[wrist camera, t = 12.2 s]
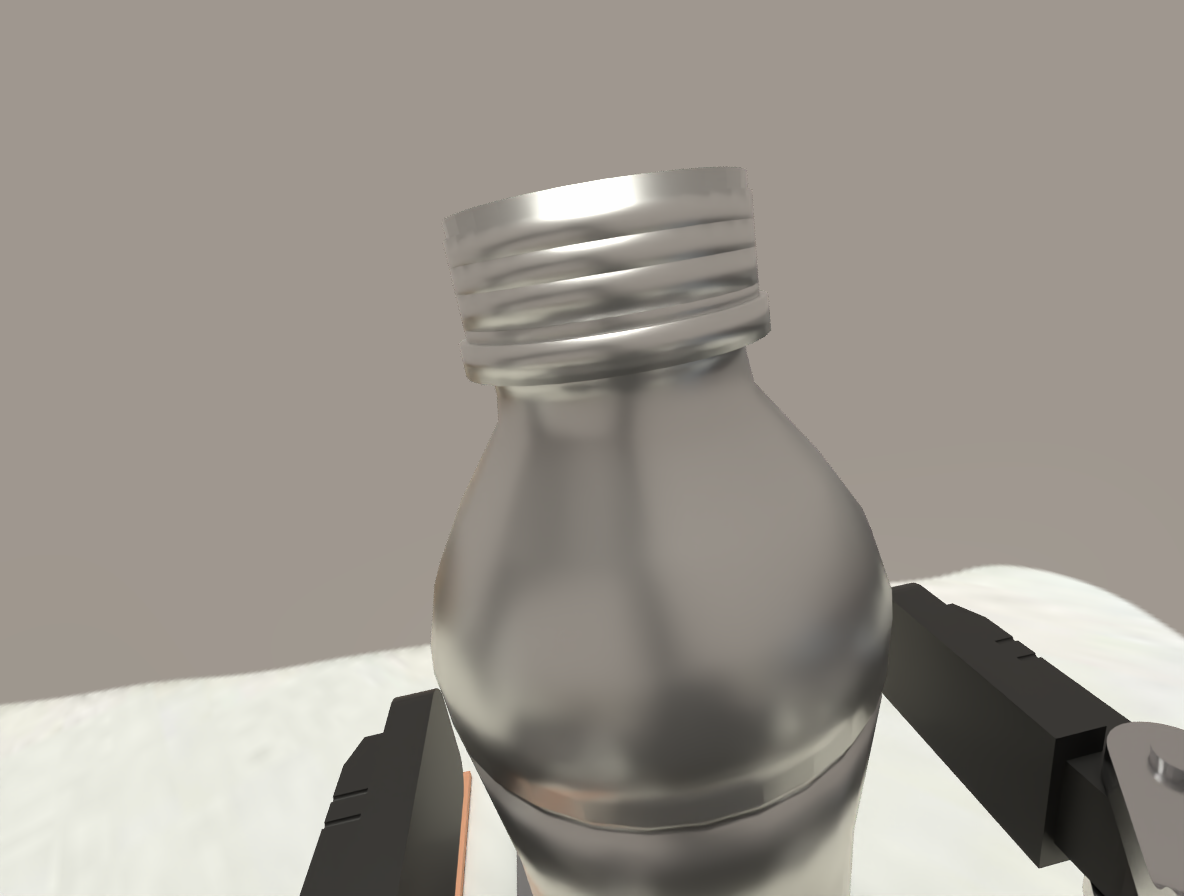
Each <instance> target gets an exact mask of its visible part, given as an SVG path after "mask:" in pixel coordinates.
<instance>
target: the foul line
mask: <svg viewBox="0 0 1184 896" xmlns="http://www.w3.org/2000/svg"><path fill="white" fill-rule="evenodd" d="M463 779H464V797H463V809H462V821H461V832H460V844H459V855H458V867H457V878H456V890H455V896H462V894H463V881H464V868H465V855H466V841H467V828H468V815H469V802H470V789H471V773H470V771H467V772H463Z"/></svg>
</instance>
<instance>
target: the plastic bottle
mask: <svg viewBox="0 0 1184 896" xmlns="http://www.w3.org/2000/svg"><path fill="white" fill-rule="evenodd" d="M442 227H443V230H444V234H445V237H446V239H445V240H444V241H443V246H444V250H445V254H446V258H447V262H448V266H449V270H450V274H451V278H452V282H453V286H454V290H455V295H456V298H457V303H458V307H459V311H460V316H461V319H462V324H463V328H464V332H465V336H466V338H465V339H463V340H461V341H460V343H459V348H460V352H461V356H462V360H463V364H464V369H465V372H466V377H467V378H468V379H469V380H470V381H471V382H474V383H478V384H482V385H492V386H495V389H496V393H497V408H498V423H497V425H496V427H495V429H494V432H493V434H492V436H491V438H490V440H489V442H488V444H487V447H486V449H485V451H484V453H483V455H482V457H481V459H480V461H479V464H478V466H477V468H476V470H475V472H474V474H473V476H472V478H471V481H470V483H469V485H468V487H467V489H466V491H465V493H464V496H463V498H462V500H461V502H460V506H459V508H458V511H457V515H456V517H455V520H454V523H453V526H452V529H451V532H450V535H449V538H448V541H447V543H446V547H445V549H444V552H443V555H442V558H441V561H440V564H439V568H438V572H437V577H436V580H435V584H434V601H433V616H432V617H433V618H432V634H431V652H432V660H433V668H434V674H435V677H436V679H437V682H438V684H439V687H440V689H441V692H442V694H443V697H444V699H445V702H446V705H447V708H448V711H449V713H450V716H451V719H452V722H453V725H454V727H455V729H456V731H457V732H458V734H459V736H460V738H461V740H462V742H463V744H464V746H465V748H466V750H467V752H468V754H469V756H470V758H471V760H472V762H473V764H474V766H475V768H476V770H477V772H478V774H479V776H480V778H481V780H482V782H483V784H484V786H485V788H486V790H487V792H488V794H489V796H490V798H491V800H492V802H493V804H494V806H495V808H496V810H497V812H498V814H499V816H500V818H501V820H502V822H503V824H504V826H505V828H506V830H507V833H508V835H509V837H510V839H511V841H512V843H513V845H514V847H515V849H516V851H517V853H518V855H519V857H520V859H521V861H522V864H523V867H524V870H525V873H526V876H527V879H528V882H529V885H530V888H531V891H532V894H533V896H850V886H851V869H852V853H853V837H854V827H855V823H856V818H857V813H858V808H859V803H860V799H861V794H862V789H863V784H864V780H865V775H866V770H867V765H868V760H869V756H870V751H871V746H872V741H873V737H874V732H875V727H876V722H877V717H878V713H879V708H880V703H881V698H882V689H883V686H884V683H885V680H886V677H887V667H888V656H889V644H890V636H891V628H892V620H893V614H892V589H891V586H890V583H889V580H888V577H887V574H886V571H885V568H884V565H883V562H882V559H881V557H880V553H879V551H878V548H877V545H876V542H875V539H874V536H873V533H872V530H871V527H870V525H869V523H868V520H867V518H866V515H865V513H864V511H863V509H862V507H861V506H860V504H859V503H858V502H857V501H856V499H855V498H854V496H853V495H852V494H851V492H850V491H849V490H848V488H847V487H846V486H845V484H844V483H843V482H842V481H841V480H840V478H839V477H838V475H837V474H836V473H835V471H834V470H833V469H832V467H831V466H830V465H829V463H828V462H827V461H826V459H825V458H824V457H823V455H822V454H821V453H820V451H819V450H818V449H817V448H816V447H815V446H814V445H813V444H812V443H811V442H810V441H809V439H808V438H807V437H806V436H805V435H804V434H803V433H802V432H801V431H800V430H799V429H798V428H797V427H796V426H795V424H794V423H793V422H792V421H791V420H790V419H789V418H788V417H787V416H786V415H785V414H784V413H783V412H782V411H781V410H780V409H779V407H778V406H777V405H776V404H775V403H774V402H773V401H772V400H771V399H770V398H769V397H768V396H767V395H766V394H765V393H764V391H762V389H761V388H760V387H759V386H758V385H757V384H756V383H755V382H754V378H753V374H752V371H751V367H750V363H749V359H748V356H747V352H746V345H749V344H752V343H754V342H756V341H758V340H759V339H761V338H763V337H765V336H766V335H767V334H768V333H769V332H770V331H771V324H770V310H769V296H768V292H766V291H762V290H759V283H758V269H757V256H756V242H755V226H754V213H753V197H752V189H748V185H747V170H746V169H743V168H738V167H704V168H691V169H679V170H670V171H661V172H653V173H645V174H637V175H631V176H624V177H617V178H610V179H604V180H598V181H592V182H586V183H581V184H575V185H569V186H563V187H559V188H554V189H549V190H544V191H539V192H534V193H530V194H525V195H520V196H516V197H512V198H507V199H503V200H499V201H495V202H491V203H488V204H484V205H480V206H477V207H473V208H470V209H467V210H464V211H461V212H459V213H456V214H453V215H451V216H450V217H447V218H445V219H444V220H443V221H442Z"/></svg>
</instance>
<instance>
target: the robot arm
mask: <svg viewBox="0 0 1184 896" xmlns="http://www.w3.org/2000/svg"><path fill="white" fill-rule="evenodd" d="M891 589H892V614H893V620H892V628H891V636H890V644H889V656H888V667H887V677H886V680H885V683H884V686H883V689H882V693H883V694H884V696H885V697H886V698H887V699H888V700H889V701H890V702H891V703H892V705H893V706H894V707H895V708H896V709H897V710H898V711H899V712H900V714H901V715H902V716H903V717H904V718H905V719H906V720H907V721H908V723H909V724H910V725H911V726H912V727H913V728H914V729H915V730H916V731H917V733H918V734H919V735H920V736H921V737H922V738H923V739H924V740H925V742H926V743H927V744H928V745H929V746H930V747H931V748H932V749H933V751H934V752H935V753H936V754H937V755H938V756H939V757H940V758H941V759H942V761H943V762H944V763H945V764H946V765H947V766H948V767H949V768H950V770H951V771H952V772H953V773H954V774H955V775H956V776H957V777H958V779H959V780H960V781H961V782H962V783H963V784H964V785H965V786H966V788H967V789H968V790H969V791H970V792H971V793H972V794H973V795H974V796H975V798H976V799H977V800H978V801H979V802H980V803H981V804H982V805H983V807H984V808H985V809H986V810H987V811H988V812H989V813H990V814H991V816H992V817H993V818H994V819H995V820H996V821H997V822H998V823H999V824H1000V826H1001V827H1002V828H1003V829H1004V830H1005V831H1006V832H1007V833H1008V835H1009V836H1010V837H1011V838H1012V839H1013V840H1014V841H1015V842H1016V844H1017V845H1018V846H1019V847H1020V848H1021V849H1022V850H1023V851H1024V853H1025V854H1026V855H1027V856H1028V857H1029V858H1030V859H1031V860H1032V861H1033V863H1034V864H1035V865H1036V866H1037V867H1038V868H1042V867H1046V866H1050V865H1053V864H1057V863H1060V862H1064V861H1068V860H1071V861H1072V862H1073V863H1074V864H1075V865H1076V866H1077V868H1078V869H1079V870H1080V871H1081V872H1082V873H1083V874H1084V879H1083V886H1082V888H1083V896H1184V730H1182V729H1179V728H1176V727H1172V726H1168V725H1164V724H1158V723H1152V722H1131V721H1129V720H1128V719H1126V718H1125V717H1124V716H1122V715H1121V714H1119V713H1118V712H1117V711H1115V710H1114V709H1113V708H1111V707H1110V706H1108V705H1107V704H1106V703H1104V702H1103V701H1101V700H1100V699H1099V698H1097V697H1096V696H1094V695H1093V694H1092V693H1090V692H1089V691H1087V690H1086V689H1085V688H1083V687H1082V686H1081V685H1079V684H1078V683H1076V682H1075V681H1074V680H1072V679H1071V678H1069V677H1068V676H1067V675H1065V674H1064V673H1062V672H1061V671H1060V670H1058V669H1057V668H1055V667H1054V666H1053V665H1051V664H1050V663H1049V662H1047V661H1046V660H1044V659H1043V658H1042V657H1040V658H1038V657H1037V656H1036V655H1035V652H1033V651H1032V650H1030V649H1029V648H1028V647H1026V646H1025V645H1023V644H1022V643H1021V642H1019V641H1014V640H1013V637H1012V636H1011V635H1010V634H1008V633H1007V632H1005V631H1004V630H1003V629H1001V628H1000V627H998V626H997V625H996V624H994V623H993V622H991V621H990V620H989V619H987V618H986V617H984V616H981V615H979V614H976V613H974V612H972V611H969V610H967V609H965V608H962V607H960V606H957V605H955V604H948V605H946V604H945V603H944V602H942V601H941V600H940V599H938V598H937V597H936V596H934V595H933V594H932V593H930V592H929V591H928V590H926V589H925V588H924V587H922V586H921V585H919V584H917V583H909V584H904V585H900V586H895V587H891ZM463 797H464V779H463V768H462V762H461V757H460V753H459V749H458V746H457V743H456V739H455V736H454V732H453V729H452V726H451V722H450V719H449V715H448V712H447V709H446V705H445V702H444V698H443V695H442V693H441V691H440V690H439V689H438V688H436V689H432V690H427V691H423V692H418V693H414V694H410V695H405V696H401V697H396V698H394V699H393V701H392V703H391V707H390V710H389V714H388V717H387V721H386V725H385V728H384V732H383V733H381V734H376V735H372V736H368V737H364V739H363V740H362V741H361V743H360V744H359V745H358V747H357V748H356V750H355V751H354V752H353V754H352V755H351V756H350V758H349V759H348V760H347V762H346V763H345V764H344V766H343V768H342V771H341V774H340V777H339V780H338V783H337V786H336V789H335V792H334V795H333V799H334V800H333V802H331V804H330V807H329V810H328V813H327V816H326V819H325V822H324V823H325V828H324V829H322V831H321V834H320V837H319V840H318V843H317V846H316V849H315V852H314V855H313V858H312V860H311V863H310V866H309V869H308V872H307V875H306V878H305V881H304V884H303V887H302V890H301V893H300V896H455V890H456V878H457V867H458V855H459V844H460V832H461V821H462V809H463Z"/></svg>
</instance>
